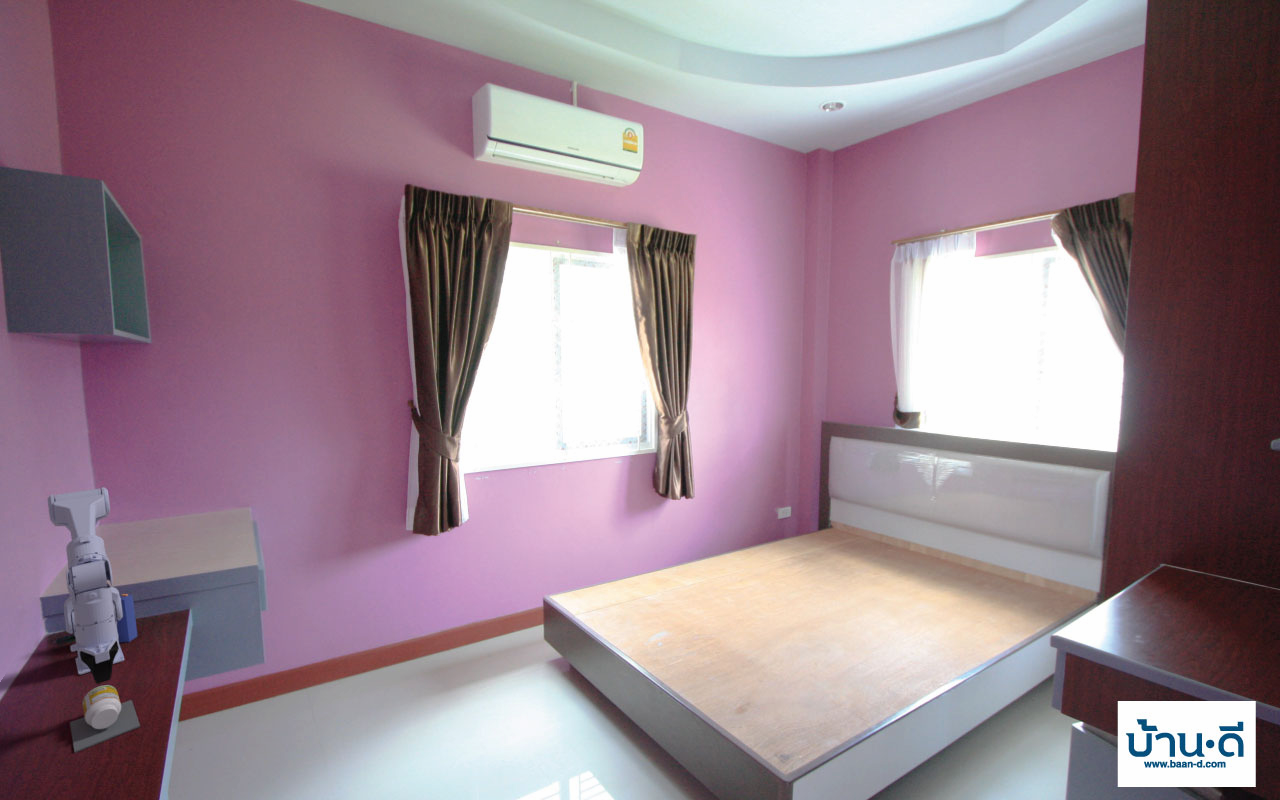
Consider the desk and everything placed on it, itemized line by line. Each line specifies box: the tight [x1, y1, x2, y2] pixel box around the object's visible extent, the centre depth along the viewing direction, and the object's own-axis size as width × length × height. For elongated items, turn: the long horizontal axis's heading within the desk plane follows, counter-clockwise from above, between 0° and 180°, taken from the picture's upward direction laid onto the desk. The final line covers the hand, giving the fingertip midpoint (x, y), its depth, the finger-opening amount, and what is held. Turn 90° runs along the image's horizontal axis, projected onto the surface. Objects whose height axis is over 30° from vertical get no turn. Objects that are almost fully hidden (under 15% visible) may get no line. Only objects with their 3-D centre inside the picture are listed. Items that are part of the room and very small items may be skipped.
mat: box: [69, 699, 141, 754], centre depth 115 cm, size 12×10×1 cm
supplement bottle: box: [82, 684, 121, 729], centre depth 116 cm, size 5×5×10 cm
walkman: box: [117, 593, 138, 643], centre depth 145 cm, size 8×3×12 cm, turn 96°
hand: (103, 680), depth 117 cm, fingers closed
